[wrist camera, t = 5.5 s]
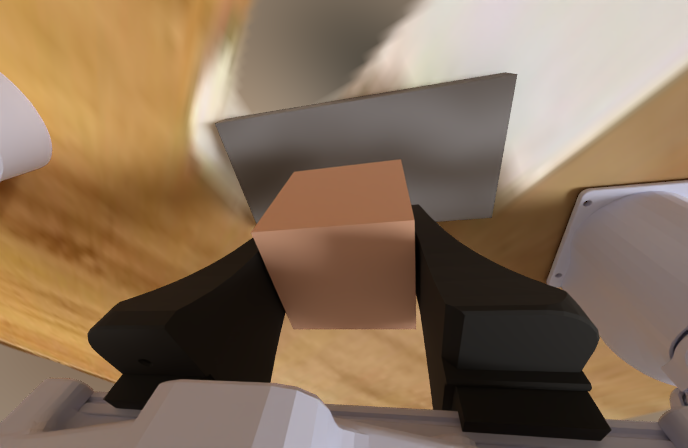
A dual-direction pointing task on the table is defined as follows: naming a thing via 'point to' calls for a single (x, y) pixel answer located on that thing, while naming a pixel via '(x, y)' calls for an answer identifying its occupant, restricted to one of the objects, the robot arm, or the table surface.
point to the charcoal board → (385, 143)
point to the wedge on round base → (20, 133)
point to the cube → (343, 247)
